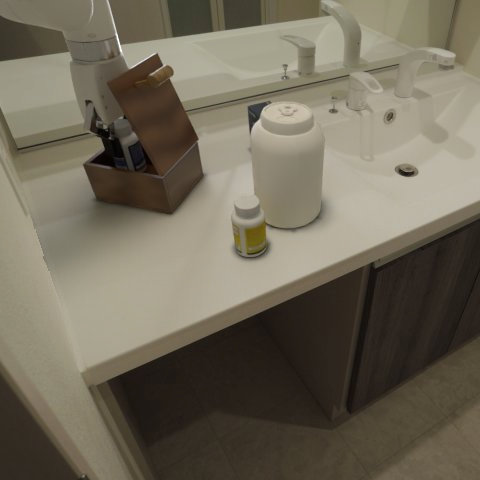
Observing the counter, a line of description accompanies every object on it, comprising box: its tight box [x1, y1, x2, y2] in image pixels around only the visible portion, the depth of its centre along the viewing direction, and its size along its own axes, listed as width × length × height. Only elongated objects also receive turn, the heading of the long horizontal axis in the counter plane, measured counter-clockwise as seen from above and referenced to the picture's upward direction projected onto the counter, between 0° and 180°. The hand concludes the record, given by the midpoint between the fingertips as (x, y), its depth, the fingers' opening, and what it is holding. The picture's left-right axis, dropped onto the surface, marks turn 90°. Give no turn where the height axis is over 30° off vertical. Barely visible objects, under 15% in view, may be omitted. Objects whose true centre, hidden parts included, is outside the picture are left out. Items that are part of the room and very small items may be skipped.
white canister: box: [249, 100, 326, 229], centre depth 73 cm, size 12×12×20 cm
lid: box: [107, 52, 200, 177], centre depth 71 cm, size 16×14×5 cm
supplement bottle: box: [230, 193, 268, 258], centre depth 68 cm, size 5×5×10 cm
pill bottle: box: [113, 118, 146, 173], centre depth 78 cm, size 5×5×10 cm
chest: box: [82, 141, 204, 215], centre depth 80 cm, size 16×14×8 cm
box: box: [247, 100, 273, 136], centre depth 91 cm, size 8×6×11 cm
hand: (125, 147), depth 78 cm, fingers closed on pill bottle, 5 cm apart
